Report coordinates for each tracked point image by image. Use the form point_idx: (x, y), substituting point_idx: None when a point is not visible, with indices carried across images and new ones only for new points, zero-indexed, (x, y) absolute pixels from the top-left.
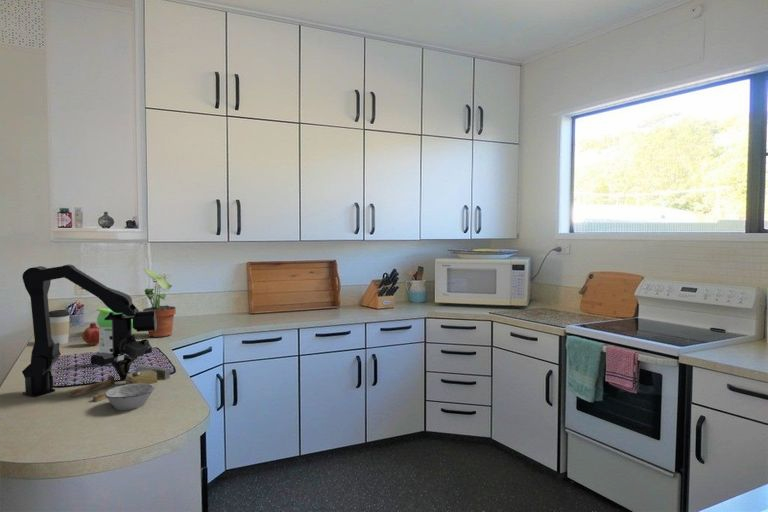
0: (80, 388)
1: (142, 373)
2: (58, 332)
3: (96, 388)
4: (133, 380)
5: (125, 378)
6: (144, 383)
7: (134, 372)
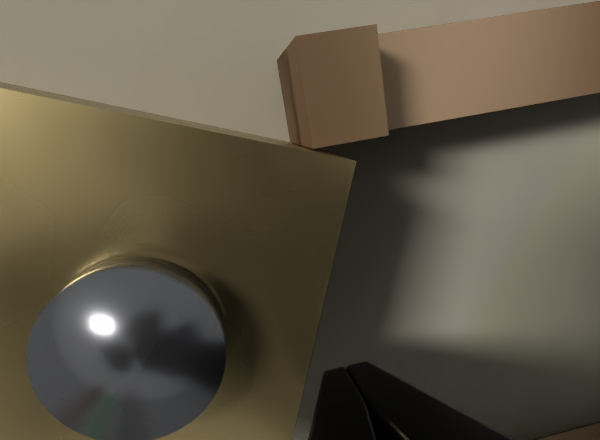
0: None
1: None
2: None
3: (581, 436)
4: (341, 83)
5: (332, 372)
6: (106, 104)
7: (143, 423)
